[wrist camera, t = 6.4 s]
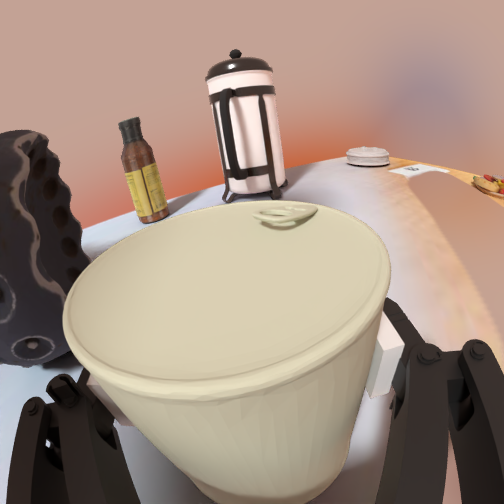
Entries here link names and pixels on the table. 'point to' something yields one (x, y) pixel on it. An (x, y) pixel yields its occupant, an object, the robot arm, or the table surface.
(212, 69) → the coffee press
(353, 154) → the lid
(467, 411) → the robot arm
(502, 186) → the toy food set
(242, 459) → the can
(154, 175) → the sauce bottle
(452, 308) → the table surface
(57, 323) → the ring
